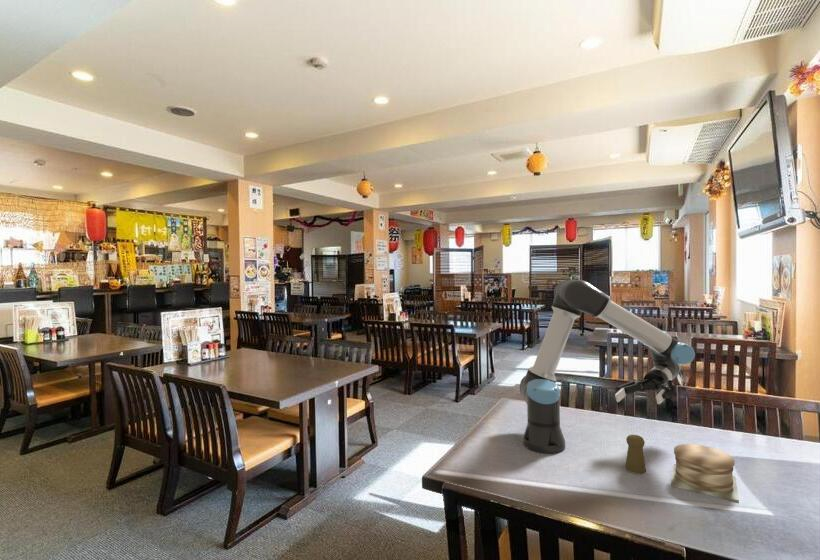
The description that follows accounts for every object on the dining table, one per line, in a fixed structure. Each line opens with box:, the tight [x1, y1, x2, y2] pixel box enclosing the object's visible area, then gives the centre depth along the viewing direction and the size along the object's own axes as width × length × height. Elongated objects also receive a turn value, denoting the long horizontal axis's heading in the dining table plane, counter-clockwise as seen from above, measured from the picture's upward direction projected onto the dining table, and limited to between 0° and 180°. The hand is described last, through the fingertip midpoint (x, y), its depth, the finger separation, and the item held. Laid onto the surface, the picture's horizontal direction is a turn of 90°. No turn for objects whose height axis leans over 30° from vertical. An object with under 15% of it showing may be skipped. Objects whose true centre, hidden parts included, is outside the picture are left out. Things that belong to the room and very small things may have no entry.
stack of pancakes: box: [670, 443, 740, 503], centre depth 125 cm, size 16×16×9 cm
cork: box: [625, 434, 647, 475], centre depth 134 cm, size 6×6×11 cm
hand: (636, 399), depth 142 cm, fingers open, 13 cm apart
